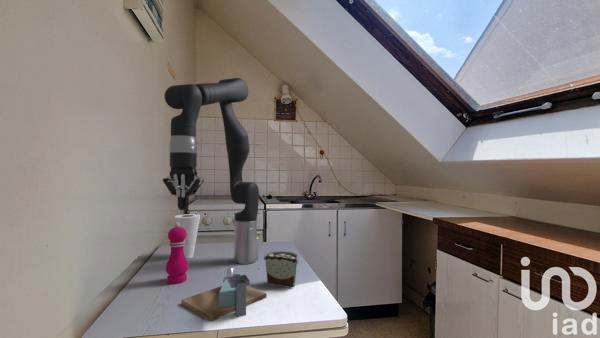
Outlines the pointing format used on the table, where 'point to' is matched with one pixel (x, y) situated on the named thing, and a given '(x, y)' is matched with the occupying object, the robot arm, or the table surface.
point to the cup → (189, 231)
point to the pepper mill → (177, 256)
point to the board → (209, 302)
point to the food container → (281, 268)
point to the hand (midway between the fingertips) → (183, 209)
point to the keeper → (239, 292)
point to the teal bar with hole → (227, 293)
